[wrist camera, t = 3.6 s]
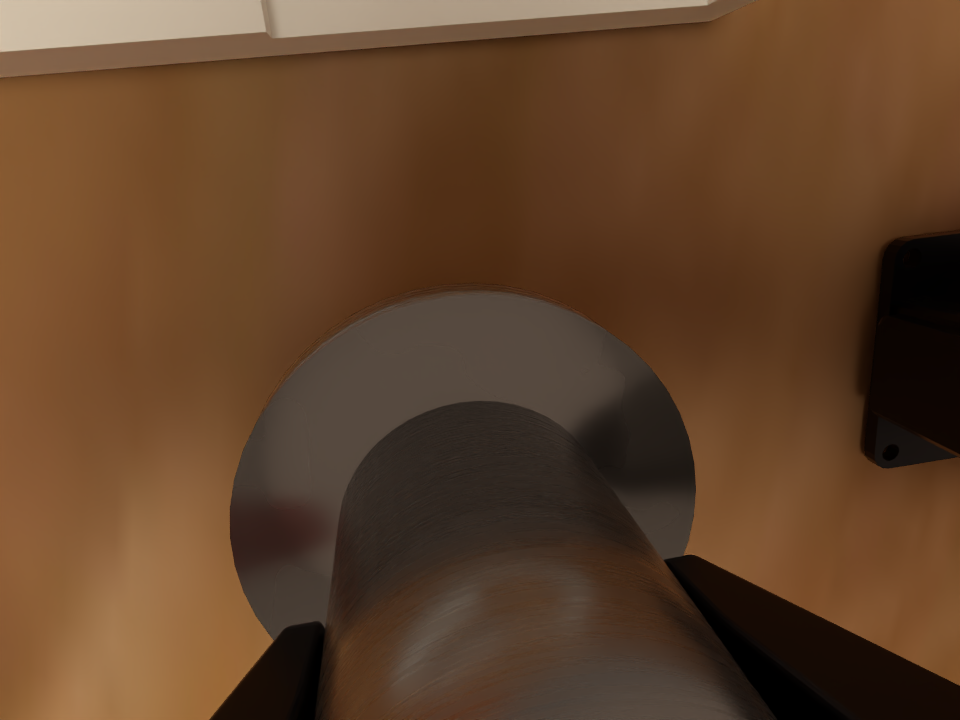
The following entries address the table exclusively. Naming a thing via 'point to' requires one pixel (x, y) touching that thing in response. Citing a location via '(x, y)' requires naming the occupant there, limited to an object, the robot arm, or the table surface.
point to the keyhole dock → (294, 27)
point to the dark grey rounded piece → (481, 519)
